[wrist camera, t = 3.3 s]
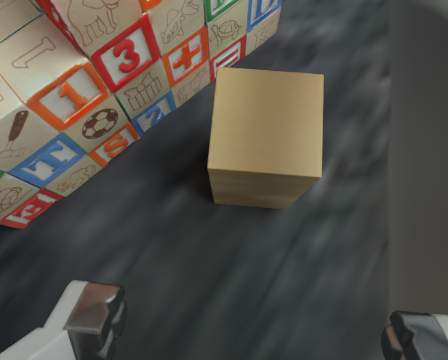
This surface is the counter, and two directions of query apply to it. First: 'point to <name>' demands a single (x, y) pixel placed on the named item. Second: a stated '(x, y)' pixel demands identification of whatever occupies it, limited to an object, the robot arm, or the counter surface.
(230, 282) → the counter surface
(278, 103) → the birch block
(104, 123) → the stack of blocks
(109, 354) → the robot arm
